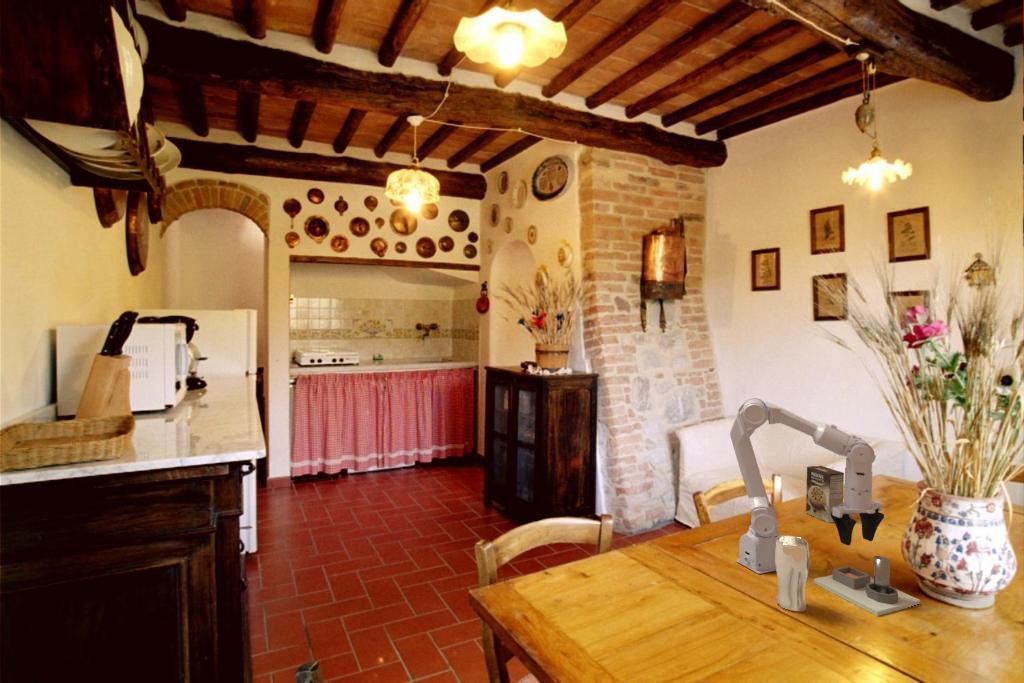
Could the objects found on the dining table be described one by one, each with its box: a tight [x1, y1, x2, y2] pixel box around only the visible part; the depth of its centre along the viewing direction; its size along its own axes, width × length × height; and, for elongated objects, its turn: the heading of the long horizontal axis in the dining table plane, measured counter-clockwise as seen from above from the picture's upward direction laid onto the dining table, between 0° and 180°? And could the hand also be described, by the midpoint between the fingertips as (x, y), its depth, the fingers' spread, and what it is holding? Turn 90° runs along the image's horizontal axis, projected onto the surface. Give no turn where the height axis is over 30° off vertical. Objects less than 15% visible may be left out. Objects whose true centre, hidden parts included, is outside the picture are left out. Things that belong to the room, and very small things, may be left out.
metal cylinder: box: [873, 555, 891, 594], centre depth 124 cm, size 3×3×9 cm
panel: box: [813, 565, 921, 617], centre depth 128 cm, size 14×16×4 cm
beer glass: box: [775, 534, 810, 612], centre depth 122 cm, size 7×7×15 cm
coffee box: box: [805, 465, 845, 524], centre depth 177 cm, size 9×6×16 cm
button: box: [846, 573, 858, 578], centre depth 131 cm, size 4×4×1 cm
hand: (856, 541), depth 134 cm, fingers open, 7 cm apart
